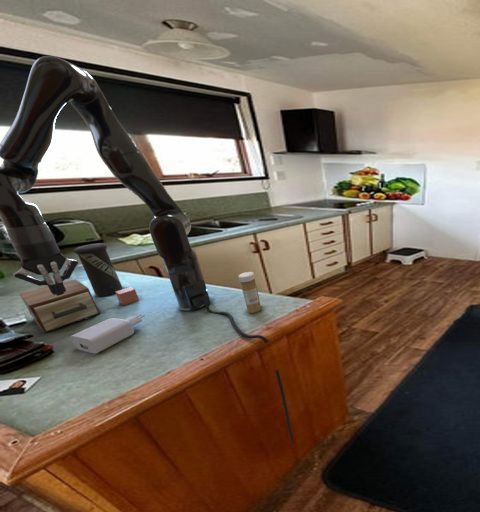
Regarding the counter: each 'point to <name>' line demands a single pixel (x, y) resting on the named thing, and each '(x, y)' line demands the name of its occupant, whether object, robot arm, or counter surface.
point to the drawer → (65, 310)
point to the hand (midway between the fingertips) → (60, 294)
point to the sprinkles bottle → (250, 292)
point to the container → (99, 269)
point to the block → (127, 295)
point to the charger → (105, 334)
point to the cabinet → (52, 299)
